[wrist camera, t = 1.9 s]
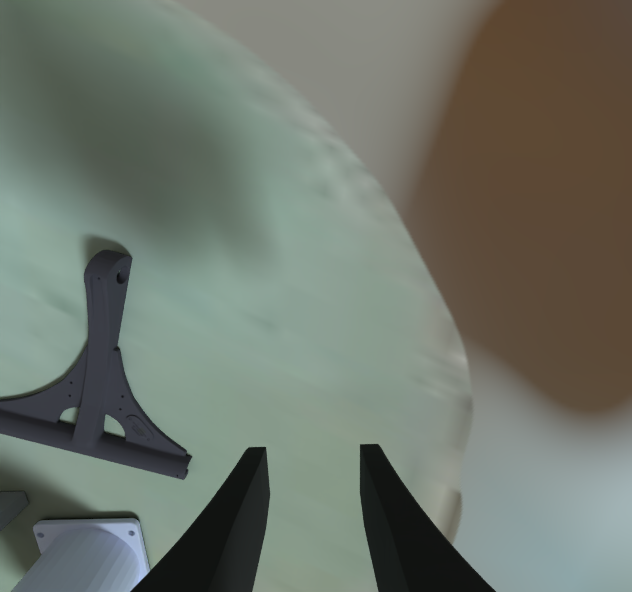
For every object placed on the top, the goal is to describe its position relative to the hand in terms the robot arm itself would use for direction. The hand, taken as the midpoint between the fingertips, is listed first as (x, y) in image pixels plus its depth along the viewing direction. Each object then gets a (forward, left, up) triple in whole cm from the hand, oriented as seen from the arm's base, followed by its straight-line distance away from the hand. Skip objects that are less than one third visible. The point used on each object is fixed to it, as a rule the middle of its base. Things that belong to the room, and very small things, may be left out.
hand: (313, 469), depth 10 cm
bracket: (0, +14, -10) cm, 17 cm away
